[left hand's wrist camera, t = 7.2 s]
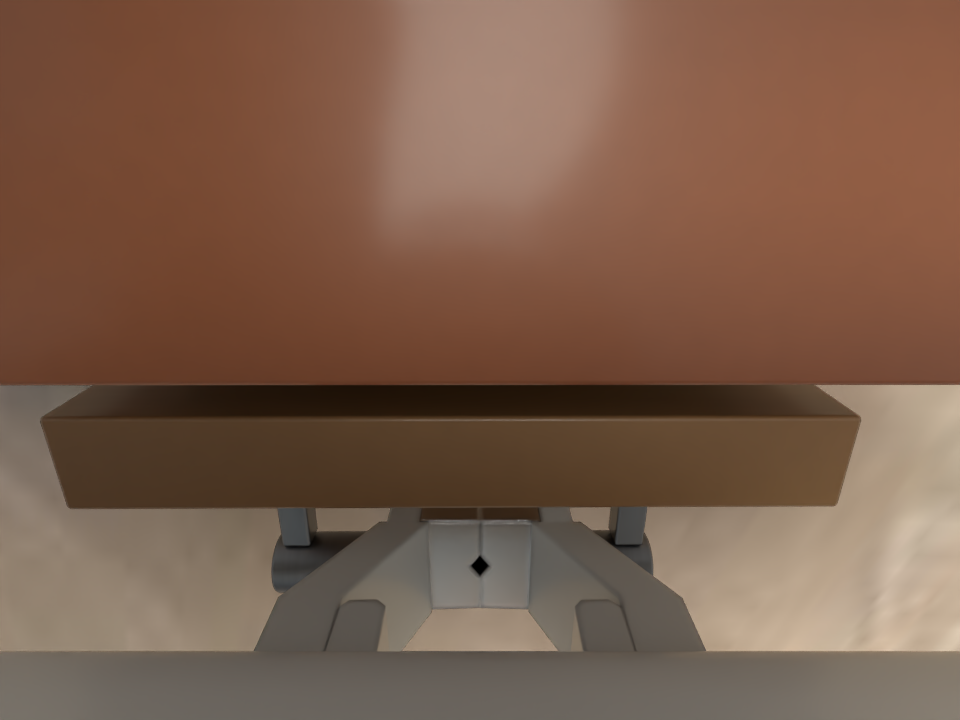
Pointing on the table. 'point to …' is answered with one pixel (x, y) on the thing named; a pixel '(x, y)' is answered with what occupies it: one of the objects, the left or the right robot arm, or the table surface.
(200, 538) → the table surface
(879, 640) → the table surface
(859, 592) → the table surface
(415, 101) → the cabinet
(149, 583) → the table surface
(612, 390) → the drawer
